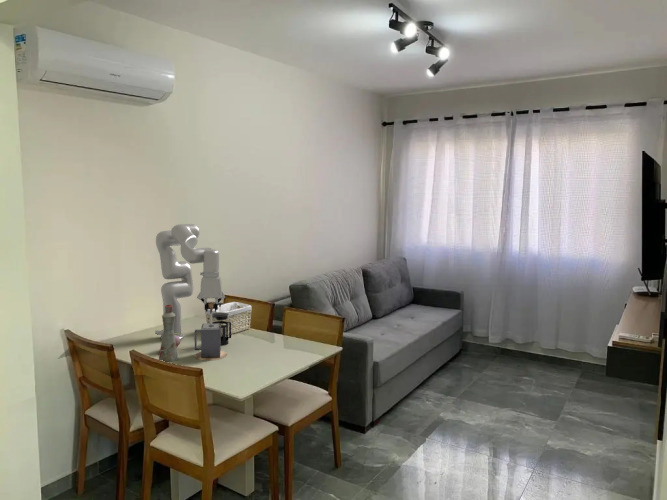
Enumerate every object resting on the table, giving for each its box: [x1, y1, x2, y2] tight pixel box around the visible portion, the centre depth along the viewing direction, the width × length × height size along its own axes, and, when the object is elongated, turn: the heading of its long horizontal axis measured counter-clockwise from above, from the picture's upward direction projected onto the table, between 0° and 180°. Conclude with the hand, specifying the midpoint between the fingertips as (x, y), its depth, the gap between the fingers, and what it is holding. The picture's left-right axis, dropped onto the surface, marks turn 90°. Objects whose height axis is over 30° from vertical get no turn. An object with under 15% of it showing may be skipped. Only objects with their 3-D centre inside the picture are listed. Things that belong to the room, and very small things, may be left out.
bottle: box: [158, 305, 179, 363], centre depth 245 cm, size 9×9×28 cm
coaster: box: [194, 350, 228, 362], centre depth 254 cm, size 16×16×1 cm
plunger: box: [207, 301, 215, 327], centre depth 252 cm, size 6×6×19 cm
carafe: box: [194, 323, 222, 358], centre depth 253 cm, size 12×9×15 cm
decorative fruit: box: [174, 333, 181, 349], centre depth 261 cm, size 9×8×10 cm
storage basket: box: [204, 301, 253, 336], centre depth 299 cm, size 24×16×15 cm
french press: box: [212, 302, 232, 347], centre depth 272 cm, size 12×9×23 cm
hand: (211, 310), depth 251 cm, fingers closed on plunger, 3 cm apart
